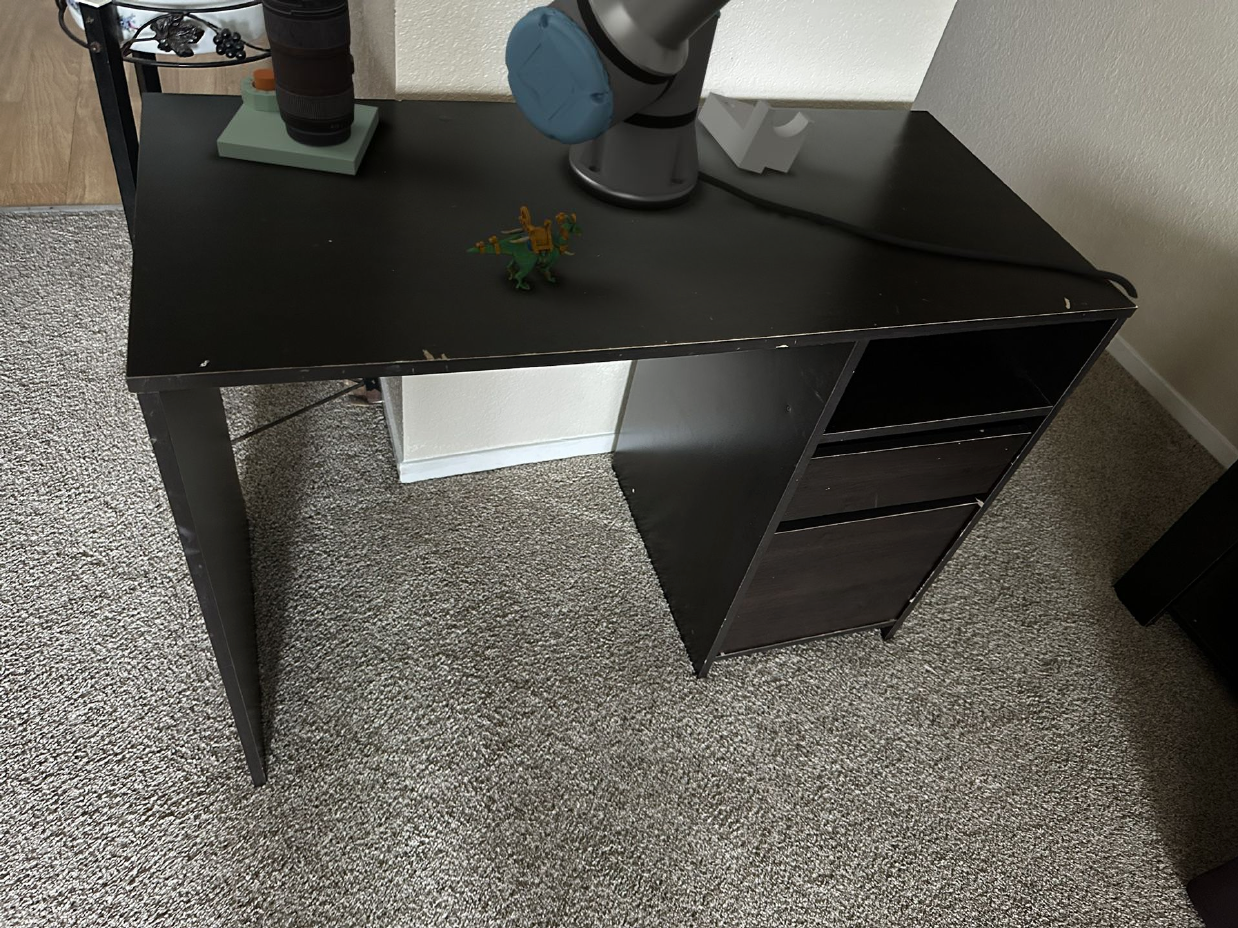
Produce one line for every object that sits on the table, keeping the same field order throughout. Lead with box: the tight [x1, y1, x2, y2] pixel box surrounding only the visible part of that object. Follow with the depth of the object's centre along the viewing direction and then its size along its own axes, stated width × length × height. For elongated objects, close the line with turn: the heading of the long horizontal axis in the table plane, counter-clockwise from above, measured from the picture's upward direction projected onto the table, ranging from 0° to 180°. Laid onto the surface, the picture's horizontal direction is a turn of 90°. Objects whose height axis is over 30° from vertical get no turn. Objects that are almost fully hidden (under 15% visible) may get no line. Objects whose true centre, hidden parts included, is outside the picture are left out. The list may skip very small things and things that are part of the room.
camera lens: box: [261, 0, 356, 147], centre depth 89 cm, size 8×8×15 cm
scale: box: [216, 74, 380, 176], centre depth 95 cm, size 14×13×4 cm
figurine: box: [466, 205, 582, 290], centre depth 81 cm, size 3×12×8 cm, turn 122°
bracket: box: [697, 91, 815, 174], centre depth 109 cm, size 13×7×8 cm, turn 19°
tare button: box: [252, 68, 275, 91], centre depth 96 cm, size 3×3×2 cm
